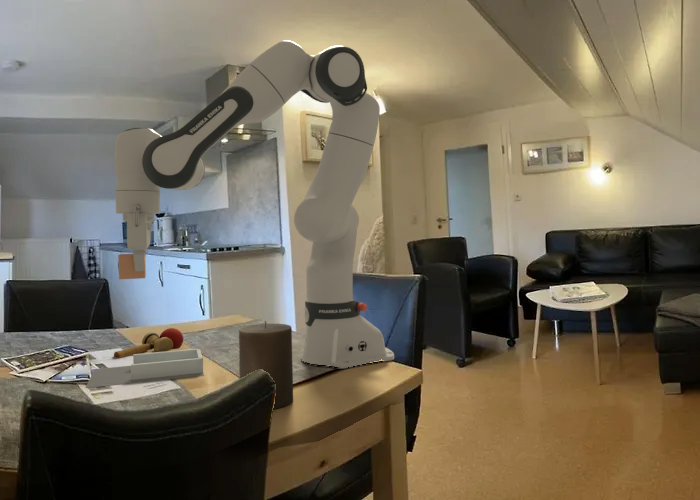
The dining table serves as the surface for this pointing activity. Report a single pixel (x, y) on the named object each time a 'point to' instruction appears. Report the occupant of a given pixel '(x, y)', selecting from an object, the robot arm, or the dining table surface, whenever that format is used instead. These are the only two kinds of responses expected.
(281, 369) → the pillar candle
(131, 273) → the terracotta block
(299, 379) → the dining table surface
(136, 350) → the kendama
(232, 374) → the dining table surface
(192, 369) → the channel
